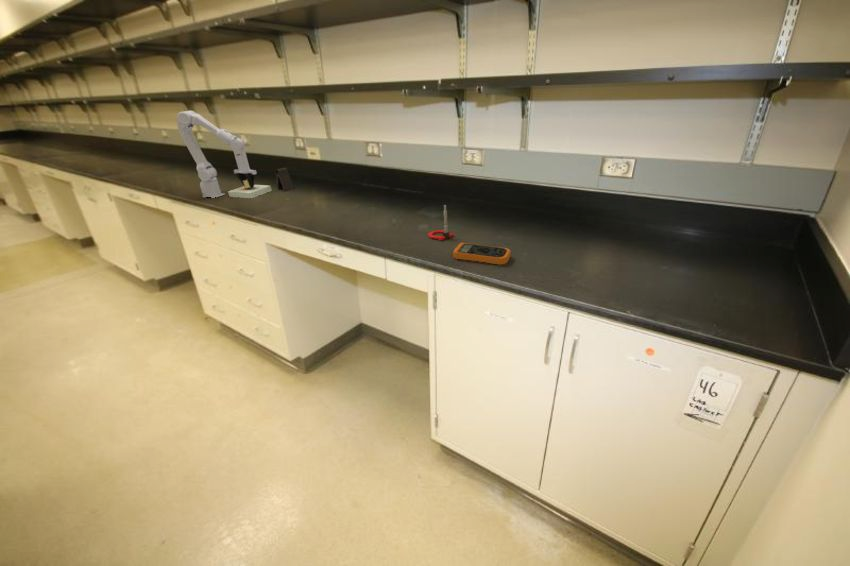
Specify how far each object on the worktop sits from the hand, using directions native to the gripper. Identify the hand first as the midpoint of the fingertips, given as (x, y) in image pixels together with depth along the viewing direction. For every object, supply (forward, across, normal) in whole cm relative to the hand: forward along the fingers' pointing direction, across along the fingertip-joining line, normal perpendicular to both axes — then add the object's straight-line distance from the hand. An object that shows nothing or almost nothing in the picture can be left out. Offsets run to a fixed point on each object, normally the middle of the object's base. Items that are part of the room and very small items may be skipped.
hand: (249, 186), depth 208 cm
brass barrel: (+2, 0, 0) cm, 2 cm away
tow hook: (+4, +126, -32) cm, 130 cm away
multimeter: (+5, +146, -47) cm, 153 cm away
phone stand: (+4, +14, +13) cm, 20 cm away
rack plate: (+4, 0, 0) cm, 4 cm away
